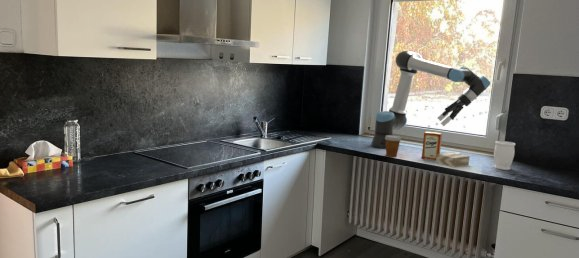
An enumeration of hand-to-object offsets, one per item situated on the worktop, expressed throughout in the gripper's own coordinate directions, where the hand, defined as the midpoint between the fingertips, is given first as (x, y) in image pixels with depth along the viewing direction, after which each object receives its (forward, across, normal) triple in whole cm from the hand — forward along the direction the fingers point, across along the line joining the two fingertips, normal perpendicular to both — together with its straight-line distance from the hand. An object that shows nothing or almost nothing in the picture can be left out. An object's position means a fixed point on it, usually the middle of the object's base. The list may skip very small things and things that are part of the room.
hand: (440, 122), depth 275 cm
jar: (-4, 0, -43) cm, 44 cm away
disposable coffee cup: (+35, -10, +2) cm, 37 cm away
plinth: (+13, -7, -24) cm, 28 cm away
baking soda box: (+20, -1, -12) cm, 23 cm away
